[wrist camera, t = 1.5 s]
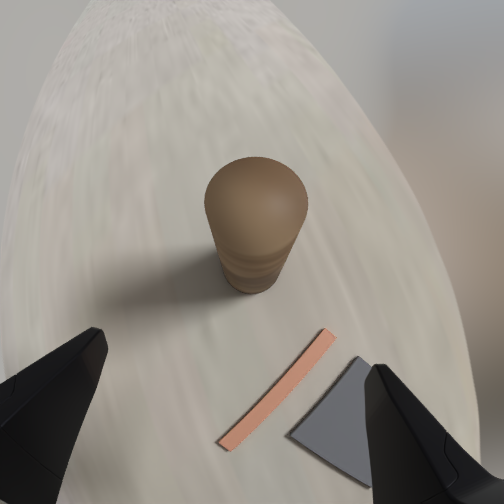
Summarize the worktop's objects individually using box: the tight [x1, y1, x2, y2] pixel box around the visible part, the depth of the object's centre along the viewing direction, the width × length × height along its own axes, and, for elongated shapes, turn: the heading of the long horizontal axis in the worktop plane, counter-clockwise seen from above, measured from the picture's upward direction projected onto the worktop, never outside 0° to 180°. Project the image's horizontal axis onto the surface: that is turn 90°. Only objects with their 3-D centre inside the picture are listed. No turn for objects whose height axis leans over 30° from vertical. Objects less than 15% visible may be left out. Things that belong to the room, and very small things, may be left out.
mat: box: [290, 356, 372, 487], centre depth 19 cm, size 8×10×1 cm
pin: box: [204, 157, 308, 294], centre depth 17 cm, size 4×4×11 cm
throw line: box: [219, 328, 337, 452], centre depth 20 cm, size 12×1×1 cm, turn 138°
